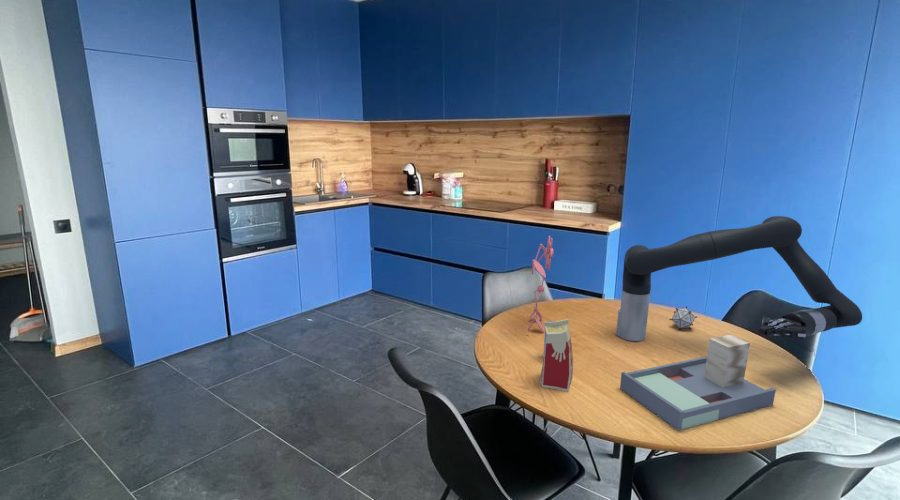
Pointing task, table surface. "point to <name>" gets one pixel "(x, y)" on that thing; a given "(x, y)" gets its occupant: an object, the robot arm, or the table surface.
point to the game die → (683, 318)
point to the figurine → (548, 255)
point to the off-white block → (726, 360)
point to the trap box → (691, 394)
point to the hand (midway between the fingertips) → (761, 332)
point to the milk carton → (557, 357)
